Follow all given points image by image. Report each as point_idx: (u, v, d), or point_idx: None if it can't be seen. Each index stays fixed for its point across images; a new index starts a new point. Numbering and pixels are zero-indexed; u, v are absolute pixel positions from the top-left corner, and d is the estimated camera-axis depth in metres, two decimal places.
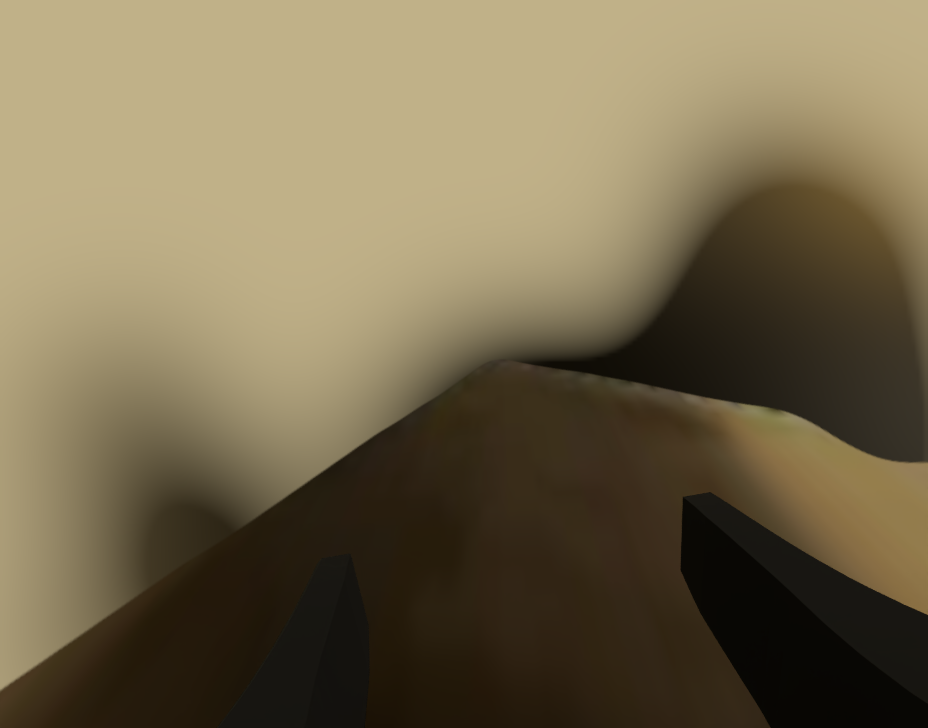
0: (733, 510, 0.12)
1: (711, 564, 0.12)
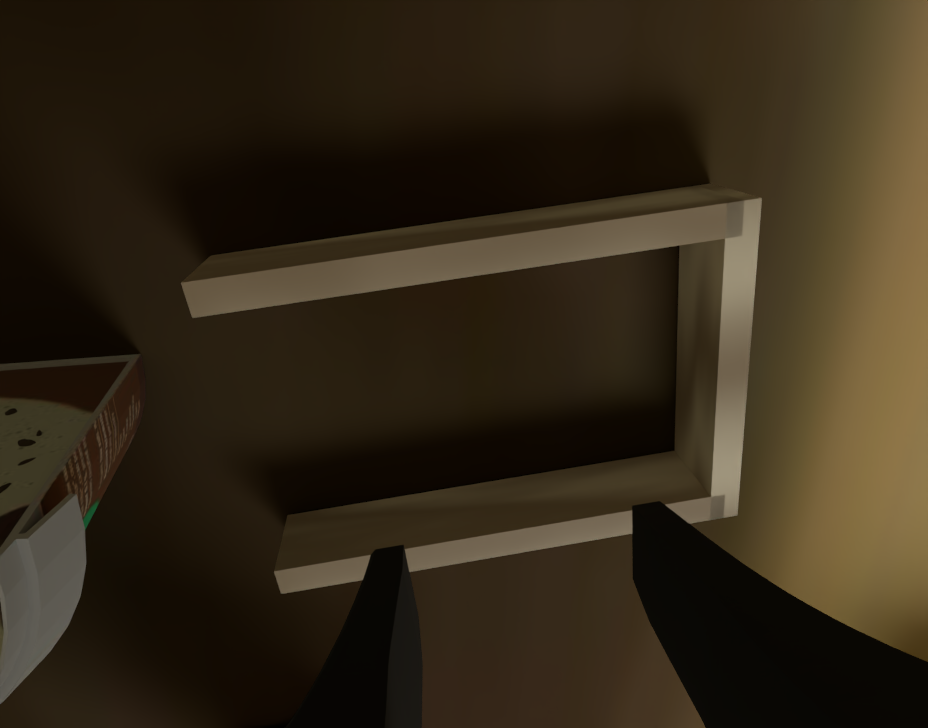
0: (678, 520, 0.12)
1: (657, 574, 0.12)
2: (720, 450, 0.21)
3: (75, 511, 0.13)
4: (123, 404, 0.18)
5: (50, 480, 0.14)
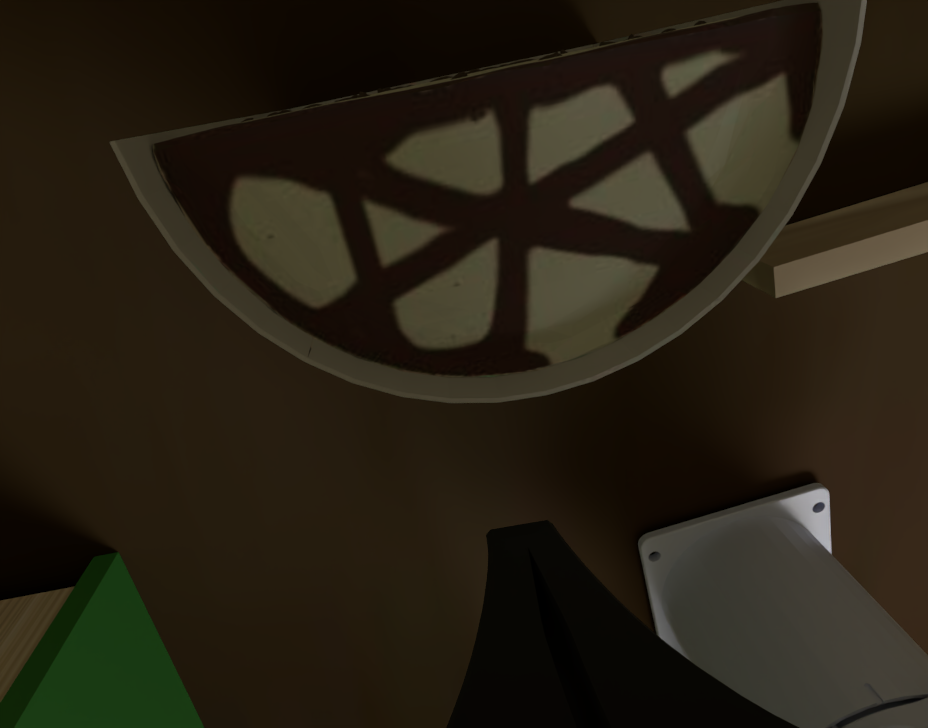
0: (557, 541, 0.12)
1: None
2: None
3: None
4: None
5: None
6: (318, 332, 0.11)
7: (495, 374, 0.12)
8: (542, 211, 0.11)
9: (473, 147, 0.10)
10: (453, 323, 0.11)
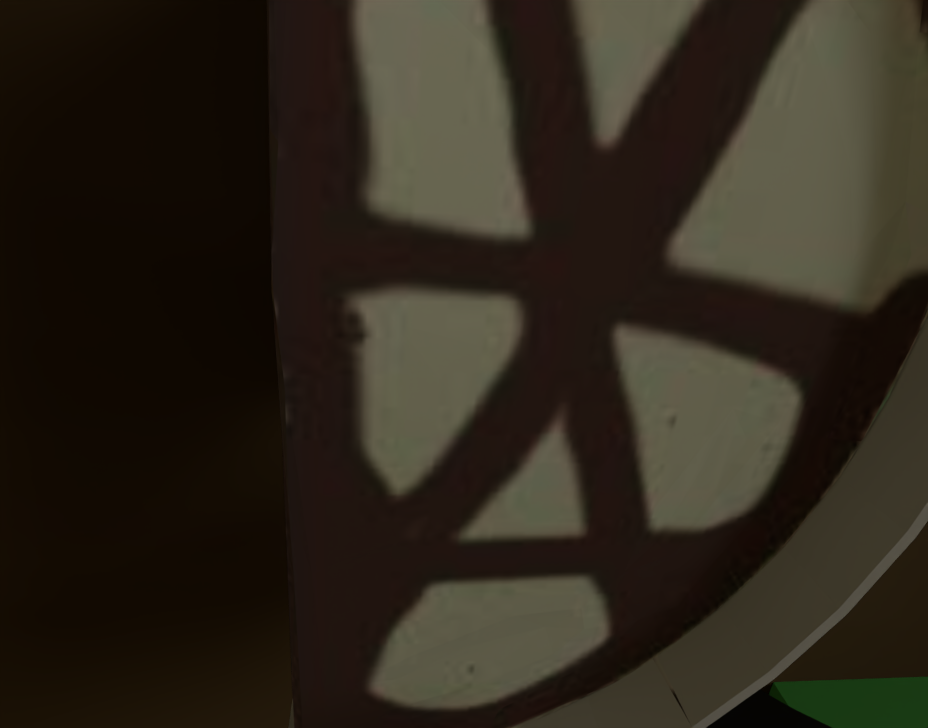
0: None
1: None
2: None
3: None
4: None
5: None
6: (648, 647, 0.06)
7: (889, 393, 0.05)
8: (598, 217, 0.05)
9: (418, 346, 0.05)
10: (741, 440, 0.06)
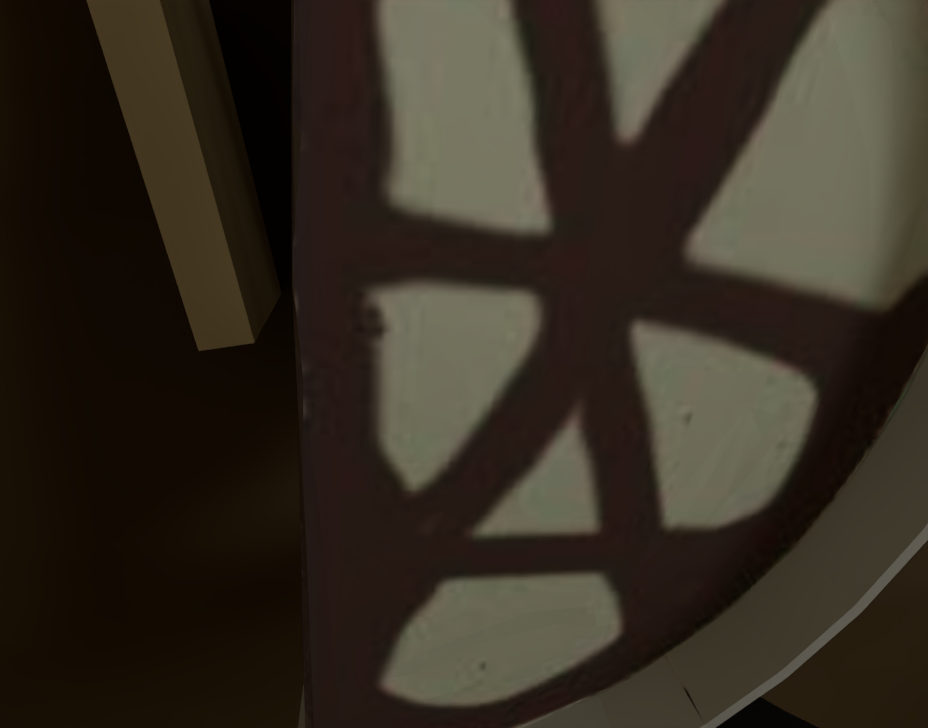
0: None
1: None
2: None
3: None
4: None
5: None
6: (660, 646, 0.06)
7: (905, 392, 0.05)
8: (617, 213, 0.05)
9: (436, 341, 0.05)
10: (756, 438, 0.06)
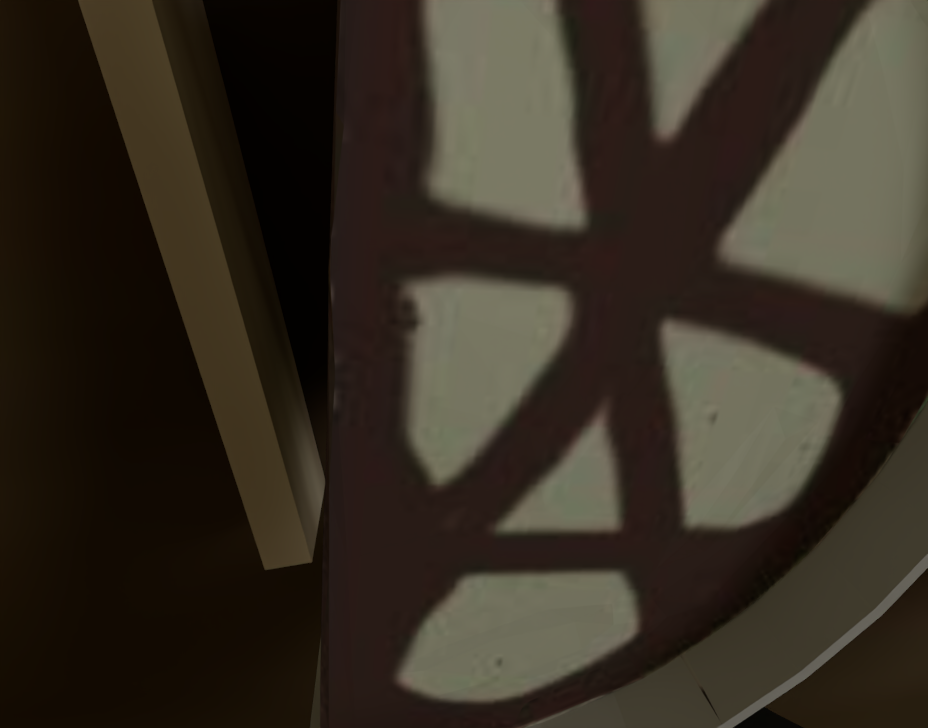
0: None
1: None
2: None
3: None
4: None
5: None
6: (677, 645, 0.06)
7: None
8: (654, 210, 0.05)
9: (469, 335, 0.05)
10: (779, 439, 0.06)
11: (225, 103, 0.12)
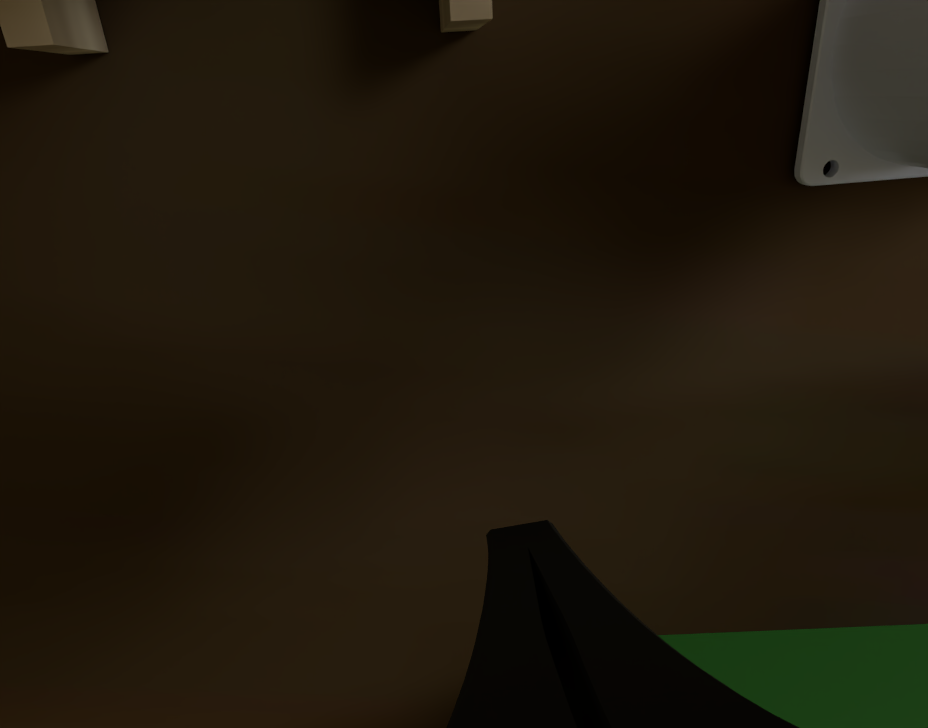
0: (556, 541, 0.12)
1: None
2: None
3: None
4: None
5: None
6: None
7: None
8: None
9: None
10: None
11: None
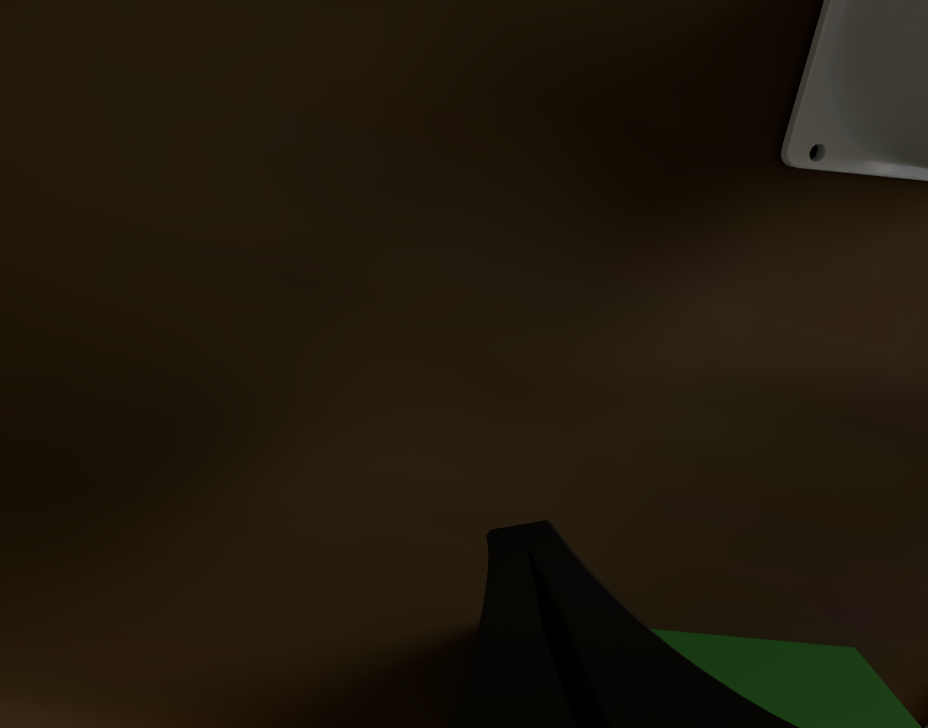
0: (556, 541, 0.12)
1: None
2: None
3: None
4: None
5: None
6: None
7: None
8: None
9: None
10: None
11: None
